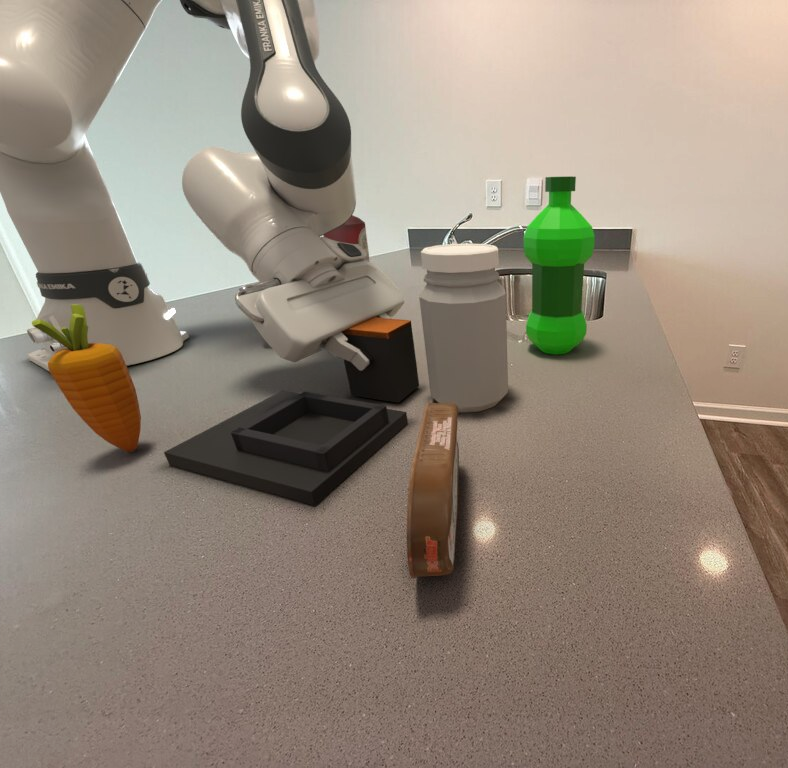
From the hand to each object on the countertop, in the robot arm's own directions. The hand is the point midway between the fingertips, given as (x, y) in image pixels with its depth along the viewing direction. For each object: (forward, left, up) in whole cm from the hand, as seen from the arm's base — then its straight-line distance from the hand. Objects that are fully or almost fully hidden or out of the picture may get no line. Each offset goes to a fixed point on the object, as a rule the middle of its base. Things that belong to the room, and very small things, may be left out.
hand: (384, 356), depth 51 cm
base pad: (-3, -13, -5) cm, 14 cm away
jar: (+10, +2, -5) cm, 12 cm away
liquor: (-23, +23, -5) cm, 33 cm away
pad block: (-1, 0, -5) cm, 5 cm away
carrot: (-18, -20, -5) cm, 27 cm away
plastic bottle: (+16, +22, -5) cm, 28 cm away
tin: (+17, -18, -5) cm, 26 cm away
